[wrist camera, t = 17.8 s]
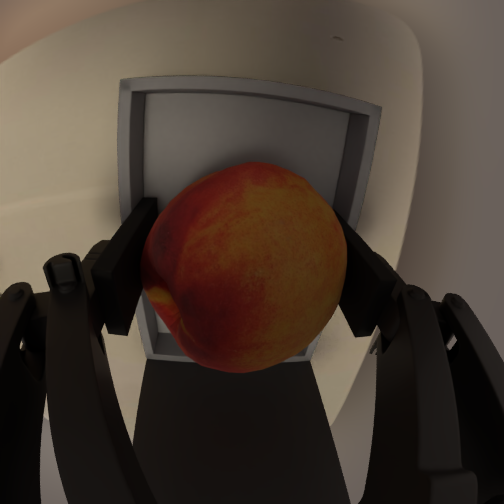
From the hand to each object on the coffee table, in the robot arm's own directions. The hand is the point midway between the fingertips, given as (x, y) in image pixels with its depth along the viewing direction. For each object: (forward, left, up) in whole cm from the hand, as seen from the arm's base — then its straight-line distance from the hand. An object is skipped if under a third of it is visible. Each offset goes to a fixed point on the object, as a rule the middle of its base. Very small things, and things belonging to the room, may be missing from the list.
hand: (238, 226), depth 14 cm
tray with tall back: (+3, 0, -1) cm, 3 cm away
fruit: (0, 0, 0) cm, 0 cm away
